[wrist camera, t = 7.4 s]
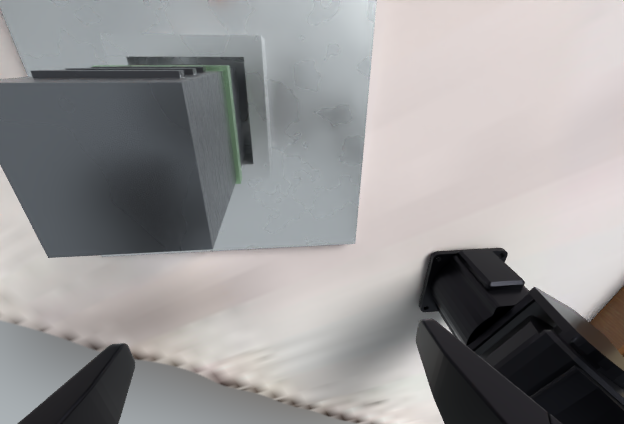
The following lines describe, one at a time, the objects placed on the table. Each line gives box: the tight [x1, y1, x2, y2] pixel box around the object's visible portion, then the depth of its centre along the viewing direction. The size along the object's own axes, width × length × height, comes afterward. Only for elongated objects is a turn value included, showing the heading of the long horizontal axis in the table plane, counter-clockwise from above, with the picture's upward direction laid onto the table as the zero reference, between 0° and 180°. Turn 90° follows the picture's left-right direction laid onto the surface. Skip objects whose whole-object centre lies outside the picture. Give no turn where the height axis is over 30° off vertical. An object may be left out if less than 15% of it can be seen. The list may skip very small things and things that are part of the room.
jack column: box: [0, 64, 245, 258], centre depth 10 cm, size 4×4×8 cm
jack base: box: [0, 0, 377, 257], centre depth 14 cm, size 20×18×9 cm
